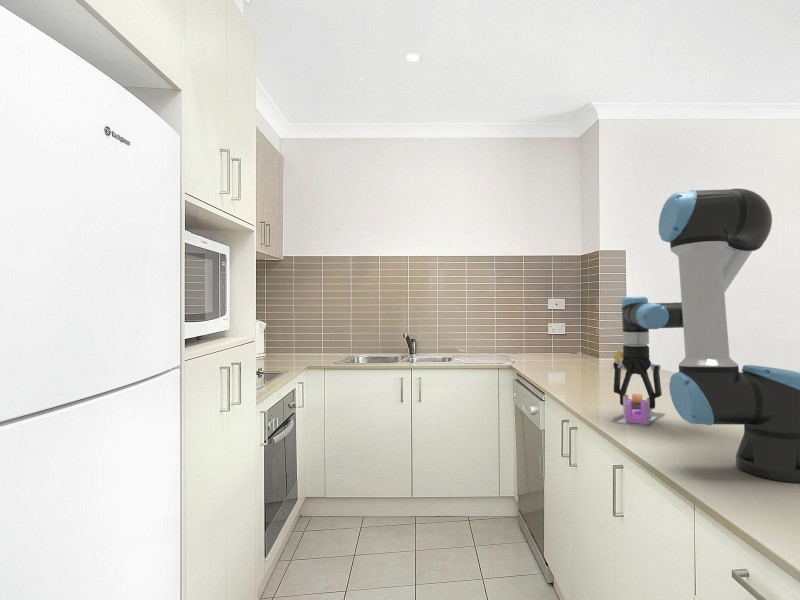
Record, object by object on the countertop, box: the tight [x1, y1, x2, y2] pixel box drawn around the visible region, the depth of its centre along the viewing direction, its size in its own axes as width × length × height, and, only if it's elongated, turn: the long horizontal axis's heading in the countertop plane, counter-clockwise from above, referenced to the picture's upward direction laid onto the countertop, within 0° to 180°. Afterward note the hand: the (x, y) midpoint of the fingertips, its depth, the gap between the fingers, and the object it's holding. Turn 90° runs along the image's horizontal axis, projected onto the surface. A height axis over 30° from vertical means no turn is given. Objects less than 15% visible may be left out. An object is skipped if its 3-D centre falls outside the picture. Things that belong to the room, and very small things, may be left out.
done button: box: [631, 393, 644, 405], centre depth 164 cm, size 3×3×4 cm
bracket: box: [626, 398, 647, 424], centre depth 154 cm, size 13×6×7 cm, turn 150°
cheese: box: [613, 349, 627, 371], centre depth 264 cm, size 10×11×10 cm
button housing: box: [632, 404, 641, 410], centre depth 164 cm, size 6×6×3 cm
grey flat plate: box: [610, 411, 666, 428], centre depth 157 cm, size 21×11×1 cm, turn 138°
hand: (637, 416), depth 154 cm, fingers closed on bracket, 6 cm apart
